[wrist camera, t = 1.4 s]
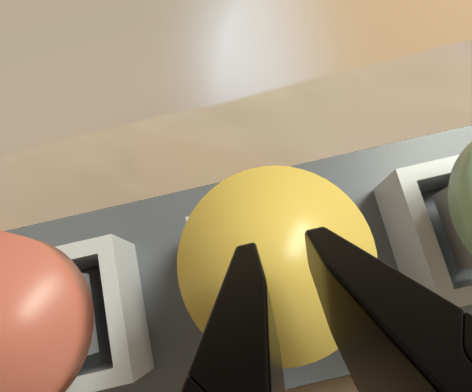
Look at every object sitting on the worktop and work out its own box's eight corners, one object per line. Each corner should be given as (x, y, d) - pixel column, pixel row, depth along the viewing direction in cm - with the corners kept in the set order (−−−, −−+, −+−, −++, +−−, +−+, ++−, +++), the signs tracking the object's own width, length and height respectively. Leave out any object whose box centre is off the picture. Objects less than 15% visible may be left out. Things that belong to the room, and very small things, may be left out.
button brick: (137, 379, 14) (85, 416, 10) (-9, 413, 14) (-126, 464, 10) (115, 235, 16) (61, 211, 11) (-19, 266, 15) (-126, 253, 11)
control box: (541, 311, 20) (686, 317, 13) (29, 429, 20) (-87, 497, 13) (476, 145, 22) (572, 79, 16) (13, 250, 22) (-93, 230, 15)
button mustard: (359, 328, 14) (405, 342, 10) (215, 361, 14) (198, 390, 10) (320, 189, 16) (345, 147, 11) (187, 219, 16) (161, 189, 11)
